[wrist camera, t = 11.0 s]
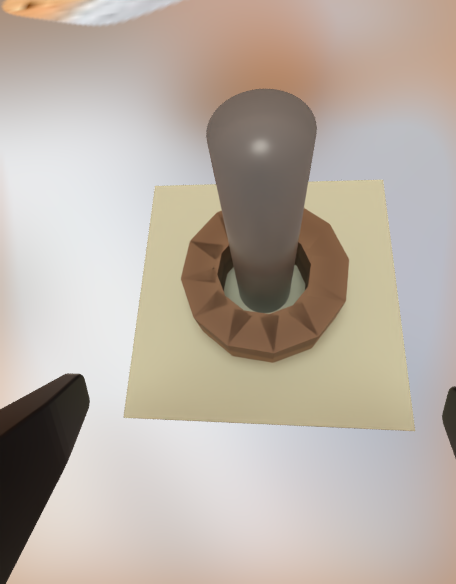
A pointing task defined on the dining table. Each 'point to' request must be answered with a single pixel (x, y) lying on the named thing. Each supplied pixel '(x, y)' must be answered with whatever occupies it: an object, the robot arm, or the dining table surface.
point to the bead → (260, 326)
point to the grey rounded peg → (262, 187)
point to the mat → (292, 370)
